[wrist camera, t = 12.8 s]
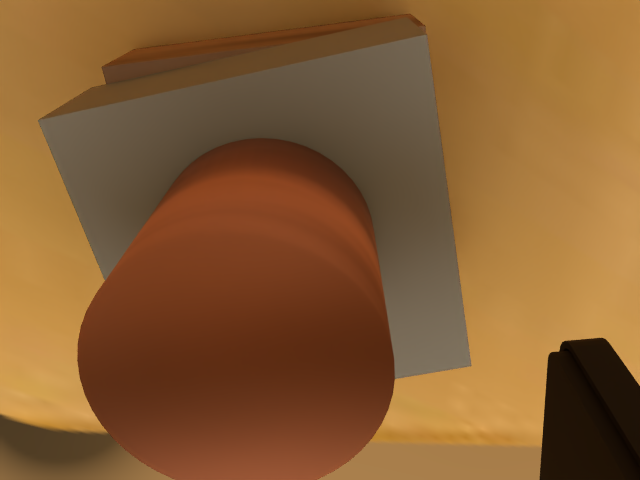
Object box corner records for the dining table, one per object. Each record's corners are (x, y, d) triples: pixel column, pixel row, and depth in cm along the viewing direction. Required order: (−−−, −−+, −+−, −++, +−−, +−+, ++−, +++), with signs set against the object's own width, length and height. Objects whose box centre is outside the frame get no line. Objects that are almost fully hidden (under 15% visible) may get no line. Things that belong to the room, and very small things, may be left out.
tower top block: (91, 87, 19) (37, 120, 16) (406, 16, 18) (427, 34, 15) (187, 345, 24) (162, 417, 20) (447, 298, 23) (471, 366, 19)
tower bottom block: (137, 47, 23) (101, 66, 19) (408, 12, 22) (425, 25, 18) (194, 282, 27) (173, 334, 23) (422, 258, 26) (438, 308, 23)
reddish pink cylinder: (133, 154, 16) (32, 256, 11) (360, 123, 16) (377, 211, 10) (187, 344, 19) (127, 505, 13) (385, 322, 18) (408, 478, 13)
